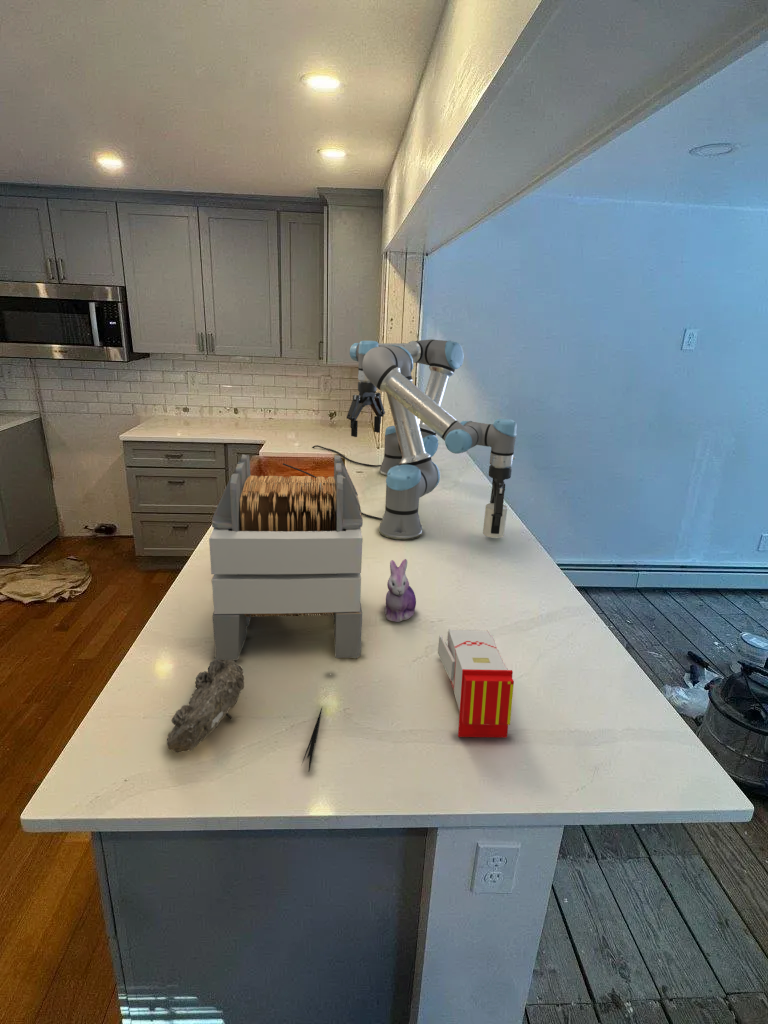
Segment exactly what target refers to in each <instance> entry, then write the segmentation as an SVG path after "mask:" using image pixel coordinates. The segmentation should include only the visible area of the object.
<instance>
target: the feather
mask: <svg viewBox="0 0 768 1024" xmlns="http://www.w3.org/2000/svg"><path fill="white" fill-rule="evenodd" d="M329 675H330V676H331V675H332V674H331V673H330V674H329ZM322 710H323V707H321V708H320V710H319V713H318V716H317V719H316V723H315V725H314V728H313V731H312V733H311V737H310V739H309V742H308V745H307V748H306V751H305V754H304V757H303V760H302V763H301V767H302V765H303V763H304V761H305V758H308V759H309V760H308V762H307V763H308V764H307V766H308V771H310V770H311V766H312V765H311V764H312V760H313V757H315V756H314V755H315V751H316V749H315V746H317V739H318V733H319V729H320V722H321V717H322V712H323V711H322ZM313 754H314V755H313ZM306 755H307V757H306Z"/></svg>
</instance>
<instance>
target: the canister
mask: <svg viewBox="0 0 768 1024" xmlns="http://www.w3.org/2000/svg"><path fill="white" fill-rule="evenodd" d="M491 514H494V503H490V502H489V503H486V504H485V510H484V519H483V528H482V534H483V535H484V536H485V537H488V538H492V539H501V538H503V537H504V536H505V531H506V521H507V515H508V506H507V505H505V504H503V512H502V514H503V515H502V517H501V521H500V529H499V534H492V533H491V526H492V517H493V516H491Z"/></svg>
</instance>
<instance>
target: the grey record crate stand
mask: <svg viewBox="0 0 768 1024" xmlns="http://www.w3.org/2000/svg"><path fill="white" fill-rule="evenodd" d="M333 460H334V461H333V469H334V470H333V476H327V477H325V476H321V475H319V476H316V478H315V477H312V476H310V475H308V476H307V475H290V476H283V475H279V476H278V475H265V476H264V475H259V476H258V475H251V459H250V454H243V453H242V454H241V456H240V459H239V461H238V462H237V464H236V466H235V469H234V471H233V473H232V474H231V475H230V478H229V479H228V482H227V484H226V486H225V489H224V491H223V493H222V496H221V498H220V500H219V502H218V504H217V507H216V508H215V511H214V513H213V516H212V518H211V527H212V528H213V529H212V531H211V534H210V535H209V538H208V543H209V559H210V574H211V575H213V576H212V579H211V587H212V588H211V589H212V600H213V601H212V603H213V612H212V629H213V630H212V631H213V640H214V649H215V657H214V660H217V661H224V660H227V659H228V660H231V659H232V660H234V661H238V660H239V658H240V654H241V653H242V649H243V647H244V645H245V642H246V640H247V636H248V632H247V630H248V629H247V627H249V626H250V624H251V623H250V622H251V618H253V617H254V618H255V617H258V618H259V617H264V618H265V617H267V618H268V617H292V616H293V617H308V616H310V617H311V616H333V618H332V619H333V626H334V627H333V636H334V638H333V639H334V640H333V641H334V658H337V659H342V658H344V659H345V658H347V659H349V658H352V659H358V658H359V657H361V656H362V633H363V632H362V631H363V630H362V629H363V611H362V603H361V590H362V576H361V574H362V563H363V562H362V561H363V534H362V529H361V528H362V527H363V525H364V524H363V523H364V519H363V515H362V514H361V512H362V509H361V505H360V499H359V494H358V492H357V489H356V487H355V485H354V483H353V481H352V478H351V477H350V474H349V472H348V470H347V468H346V466H345V463H344V461H343V459H342V456H341V455H338V454H337V455H336V454H334V458H333Z"/></svg>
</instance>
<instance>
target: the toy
mask: <svg viewBox="0 0 768 1024" xmlns="http://www.w3.org/2000/svg"><path fill="white" fill-rule="evenodd" d="M446 640H447V643H446V641H445V639H444V636H443V635H442V634H439V637H438V646H437V656H438V657H439V659H440V661H441V663H442V666H443V668H444V670H445V672H446V674H447V677H448V679H449V681H450V684H451V687H452V690H453V693H454V697H455V701H456V705H457V708H458V711H459V714H458V715H459V716H458V730H457V731H458V732H457V737H458V738H508V731H509V726H510V725H511V717H512V707H513V697H514V696H513V695H514V684H515V680H514V679H513V673H514V671H513V670H512V669H508V667H507V665H506V662H505V661H504V659H503V658H502V655H501V653H500V651H499V649H498V647H497V643H496V639H495V637H494V635H493V634H491V632H490V631H489V629H467V628H466V629H465V628H463V629H461V628H460V629H459V628H448V630H447V639H446Z"/></svg>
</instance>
